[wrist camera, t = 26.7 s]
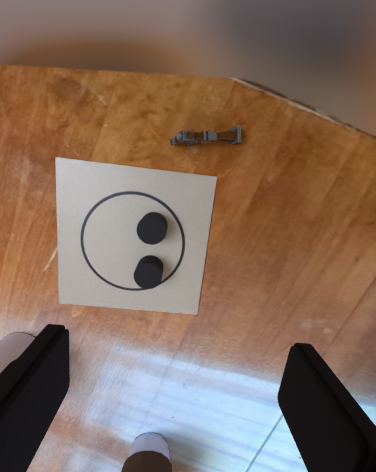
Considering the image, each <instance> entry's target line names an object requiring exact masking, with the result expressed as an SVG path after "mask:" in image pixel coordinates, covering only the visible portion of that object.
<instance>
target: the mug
mask: <svg viewBox="0 0 376 472" xmlns="http://www.w3.org/2000/svg"><path fill="white" fill-rule="evenodd" d="M34 339H35V338H34V337H33V336H31V335H29V334H26V333H12V334H9V335H7V336H6V337H4V338H3V339H2V340H1V341H0V373H1V372H2V371H3V370H4V369H5V368H6V366H7V365H8V364H9V363H10V362H12V361H13V360H15V359H17V358H18V357H19V356H20V355H21V354H22V353H23V352H24V351H25V349H26V348H27V347H28V346H29V345H30V344H31V343H32V341H33V340H34Z"/></svg>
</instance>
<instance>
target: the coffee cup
mask: <svg viewBox="0 0 376 472" xmlns="http://www.w3.org/2000/svg"><path fill="white" fill-rule="evenodd" d="M121 472H172V466H171V463H170V456H169V447H168V445H167V443H166V441H165V439H164V438H163V437H162V436H161V435H158V434H155V433H145V434H142V435H140V436H138V437H137V438H136V439H135V440H134V442H133V444H132V445H131V447H130V450H129V453H128V456H127V459H126V461H125V463H124V465H123V468H122V471H121Z"/></svg>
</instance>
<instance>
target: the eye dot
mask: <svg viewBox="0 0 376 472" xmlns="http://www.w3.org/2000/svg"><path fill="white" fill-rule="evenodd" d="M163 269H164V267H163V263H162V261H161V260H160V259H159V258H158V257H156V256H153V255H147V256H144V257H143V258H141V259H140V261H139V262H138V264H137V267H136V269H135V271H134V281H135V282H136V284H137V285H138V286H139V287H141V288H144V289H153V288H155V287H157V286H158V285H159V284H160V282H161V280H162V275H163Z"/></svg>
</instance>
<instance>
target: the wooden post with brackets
mask: <svg viewBox="0 0 376 472" xmlns="http://www.w3.org/2000/svg"><path fill="white" fill-rule="evenodd" d="M170 140H171V145H176V144H180V143H181V142H183V143H185V142H186V145H190V144H194V145H195V144H198V143H199V142H203V141H204V142H205V141H216V140H223V141H230V144H236V143H240V142H241V126H237V127H234V128H231V129H229V131H225V132H216V131H202V132H194V131H184V130H183V131H181V132H179V133H177V134H176V137H173V139H170Z"/></svg>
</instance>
